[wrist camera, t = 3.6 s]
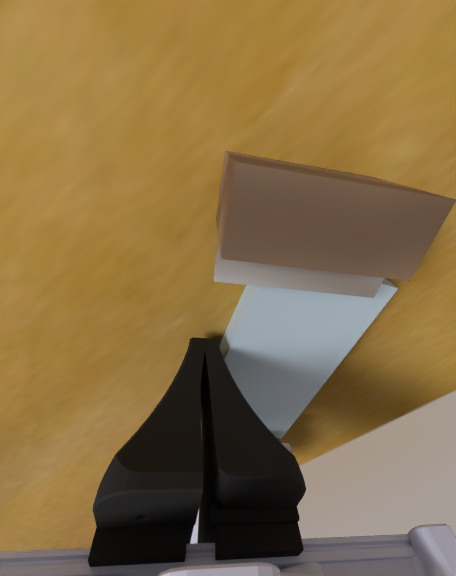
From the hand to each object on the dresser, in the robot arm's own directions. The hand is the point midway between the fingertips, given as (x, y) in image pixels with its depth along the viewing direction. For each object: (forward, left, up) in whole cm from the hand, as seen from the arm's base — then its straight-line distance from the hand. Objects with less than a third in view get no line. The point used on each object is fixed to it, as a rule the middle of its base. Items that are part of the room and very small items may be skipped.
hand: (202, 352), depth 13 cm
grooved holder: (0, -3, -1) cm, 3 cm away
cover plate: (0, -4, -1) cm, 4 cm away
